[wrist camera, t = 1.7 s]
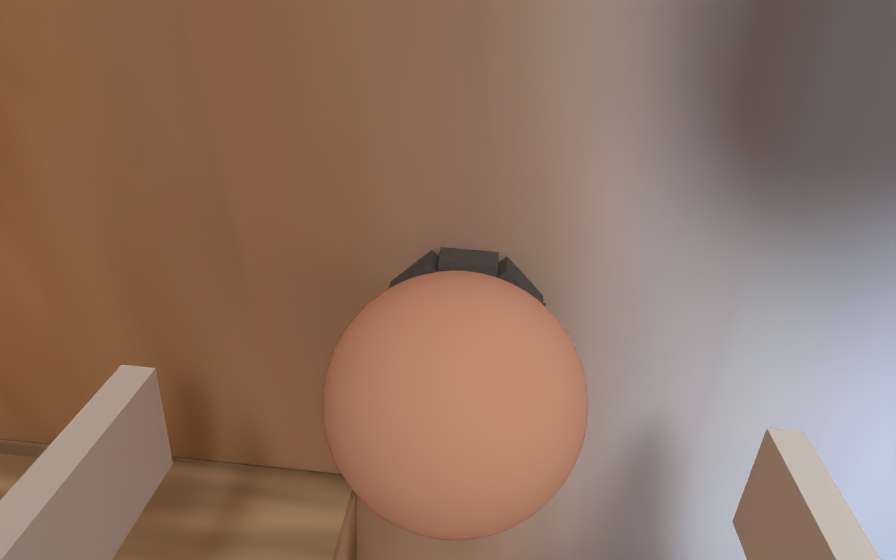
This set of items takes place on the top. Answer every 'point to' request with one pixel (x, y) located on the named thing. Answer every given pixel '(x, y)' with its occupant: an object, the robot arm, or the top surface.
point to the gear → (469, 267)
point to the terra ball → (455, 405)
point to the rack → (228, 511)
